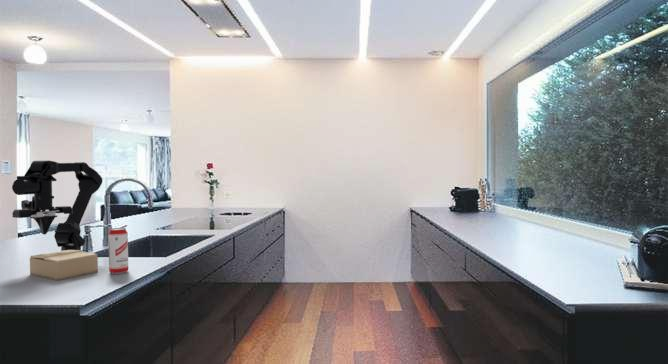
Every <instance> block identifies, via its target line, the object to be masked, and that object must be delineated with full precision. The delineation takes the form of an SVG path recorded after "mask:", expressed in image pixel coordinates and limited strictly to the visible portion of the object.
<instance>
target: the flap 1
mask: <svg viewBox="0 0 668 364" xmlns="http://www.w3.org/2000/svg"><path fill="white" fill-rule="evenodd" d="M82 251H83V249H81V250H64V251H61V250H59V251H53V252H47V253H41V254H35V255H34V254H33V255H30V257H29V258H47V257H53V256H59V255H65V254H71V253H77V252H82ZM83 252H84V251H83Z"/></svg>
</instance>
